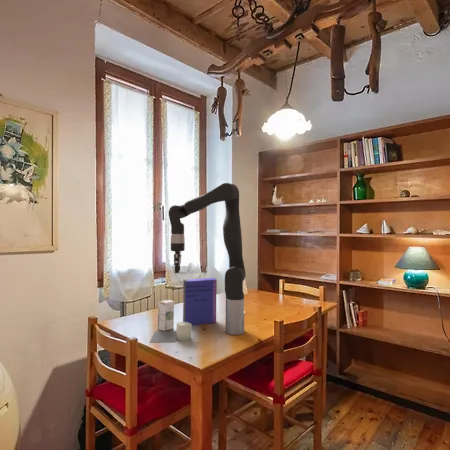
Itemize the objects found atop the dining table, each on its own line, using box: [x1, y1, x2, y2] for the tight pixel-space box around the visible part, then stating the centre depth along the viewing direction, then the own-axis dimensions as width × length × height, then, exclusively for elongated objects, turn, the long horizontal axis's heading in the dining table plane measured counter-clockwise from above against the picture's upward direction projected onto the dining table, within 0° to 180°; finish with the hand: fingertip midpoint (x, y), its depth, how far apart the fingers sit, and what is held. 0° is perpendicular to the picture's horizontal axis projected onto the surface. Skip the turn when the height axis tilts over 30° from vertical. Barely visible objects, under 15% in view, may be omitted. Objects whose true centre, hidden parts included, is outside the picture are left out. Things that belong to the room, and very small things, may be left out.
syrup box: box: [157, 299, 175, 331], centre depth 175 cm, size 6×6×14 cm
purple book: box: [182, 277, 218, 326], centre depth 187 cm, size 17×5×24 cm, turn 111°
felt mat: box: [149, 330, 178, 343], centre depth 164 cm, size 12×15×1 cm
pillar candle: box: [175, 321, 193, 343], centre depth 162 cm, size 7×7×7 cm
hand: (177, 271), depth 186 cm, fingers open, 8 cm apart
